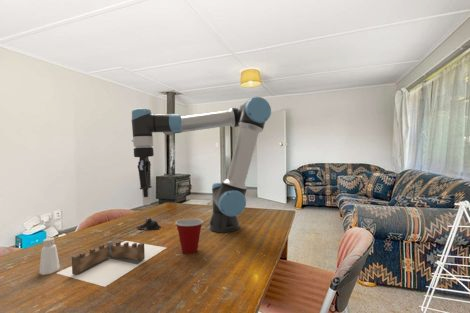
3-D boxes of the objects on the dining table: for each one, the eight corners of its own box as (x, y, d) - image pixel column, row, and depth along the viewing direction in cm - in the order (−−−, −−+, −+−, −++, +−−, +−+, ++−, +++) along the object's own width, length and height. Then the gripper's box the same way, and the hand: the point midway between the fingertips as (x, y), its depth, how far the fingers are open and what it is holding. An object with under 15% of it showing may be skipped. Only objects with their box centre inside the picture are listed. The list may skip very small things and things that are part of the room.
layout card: (166, 248, 92) (166, 247, 92) (104, 288, 66) (104, 286, 66) (125, 241, 100) (125, 240, 100) (56, 274, 74) (56, 272, 74)
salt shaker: (64, 267, 79) (62, 235, 78) (52, 275, 73) (50, 241, 73) (48, 267, 78) (46, 236, 78) (34, 276, 73) (33, 242, 73)
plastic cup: (208, 246, 93) (207, 217, 93) (195, 258, 83) (194, 226, 83) (185, 243, 97) (184, 215, 96) (170, 254, 86) (169, 223, 86)
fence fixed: (75, 274, 72) (74, 257, 72) (72, 274, 73) (71, 256, 73) (108, 257, 83) (108, 242, 83) (105, 257, 84) (105, 242, 84)
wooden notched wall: (106, 256, 84) (105, 242, 84) (110, 254, 86) (109, 239, 86) (141, 261, 80) (141, 245, 80) (145, 258, 82) (144, 243, 82)
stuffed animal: (162, 222, 124) (159, 214, 114) (161, 240, 119) (157, 234, 109) (139, 223, 122) (134, 216, 112) (137, 242, 117) (131, 236, 107)
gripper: (137, 147, 99) (141, 201, 100) (129, 147, 86) (133, 209, 87) (155, 147, 100) (158, 200, 101) (149, 146, 87) (153, 207, 88)
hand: (146, 204), depth 94 cm, fingers closed
